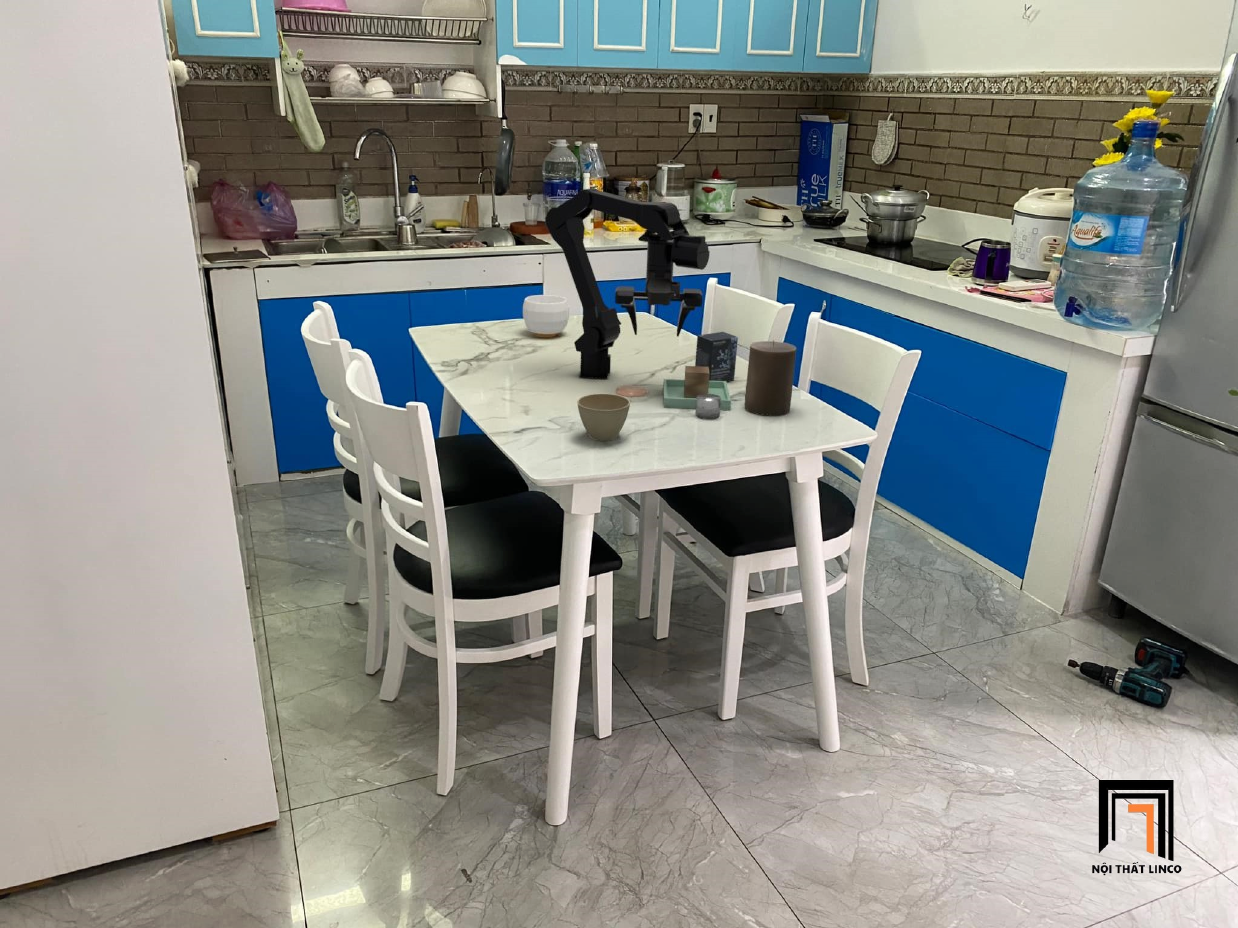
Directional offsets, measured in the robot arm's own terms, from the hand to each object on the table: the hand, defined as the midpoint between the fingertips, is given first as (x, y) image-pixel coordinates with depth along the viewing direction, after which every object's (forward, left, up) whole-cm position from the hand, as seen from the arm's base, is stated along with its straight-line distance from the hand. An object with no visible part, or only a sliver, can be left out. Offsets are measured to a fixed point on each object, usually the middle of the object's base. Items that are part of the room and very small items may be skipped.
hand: (656, 335), depth 206 cm
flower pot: (-10, -33, -12) cm, 37 cm away
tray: (+9, -7, -12) cm, 17 cm away
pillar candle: (+24, -12, -12) cm, 29 cm away
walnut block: (+9, -7, -11) cm, 16 cm away
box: (+14, +8, -12) cm, 20 cm away
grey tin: (+11, -18, -12) cm, 24 cm away
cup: (-29, +44, -12) cm, 54 cm away
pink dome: (-5, -4, -12) cm, 14 cm away
